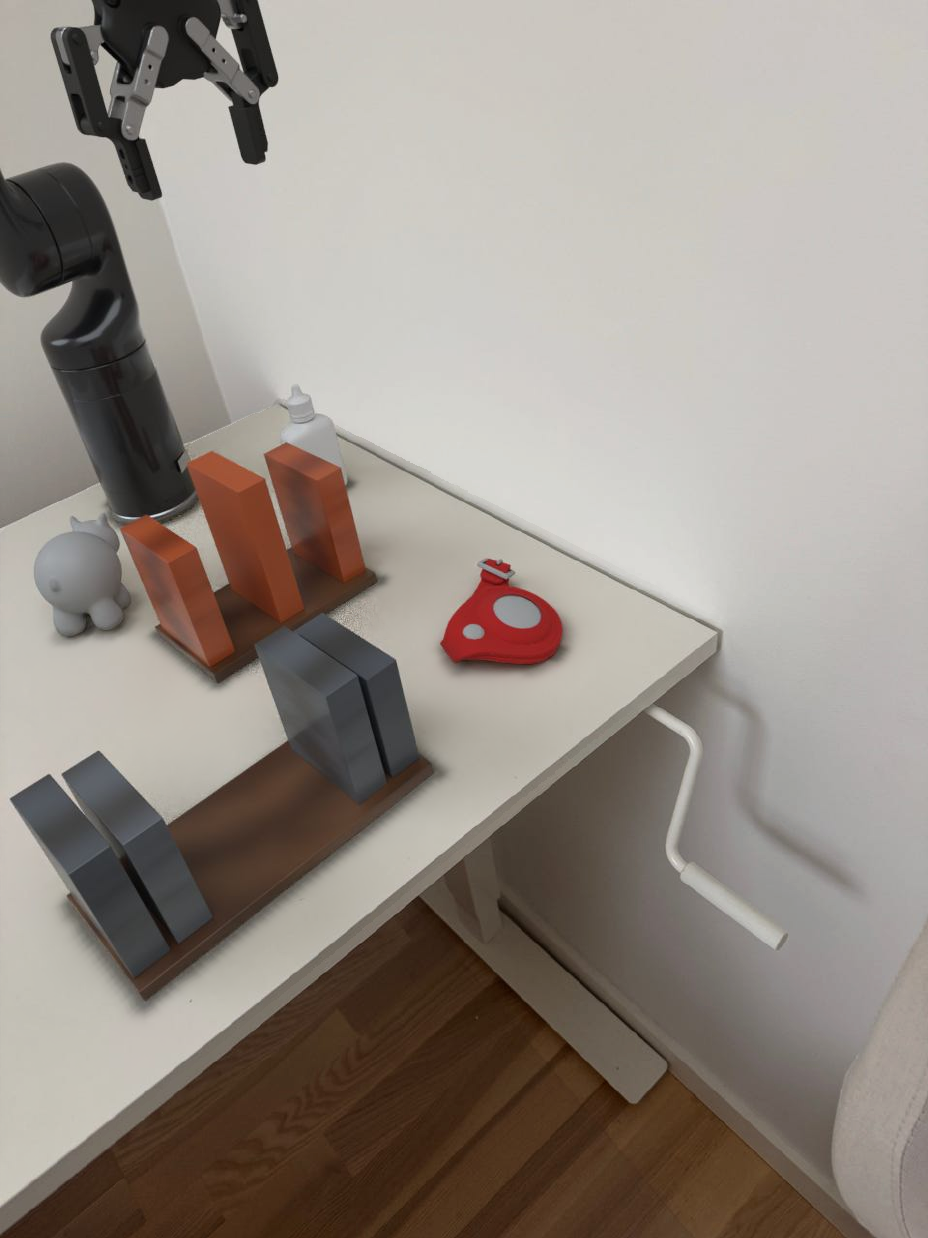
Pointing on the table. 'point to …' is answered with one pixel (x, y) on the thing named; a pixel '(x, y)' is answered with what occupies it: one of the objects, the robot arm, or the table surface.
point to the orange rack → (223, 620)
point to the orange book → (246, 534)
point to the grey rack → (233, 810)
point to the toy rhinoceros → (82, 576)
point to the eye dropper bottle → (311, 430)
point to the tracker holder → (502, 622)
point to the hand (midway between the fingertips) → (204, 179)
